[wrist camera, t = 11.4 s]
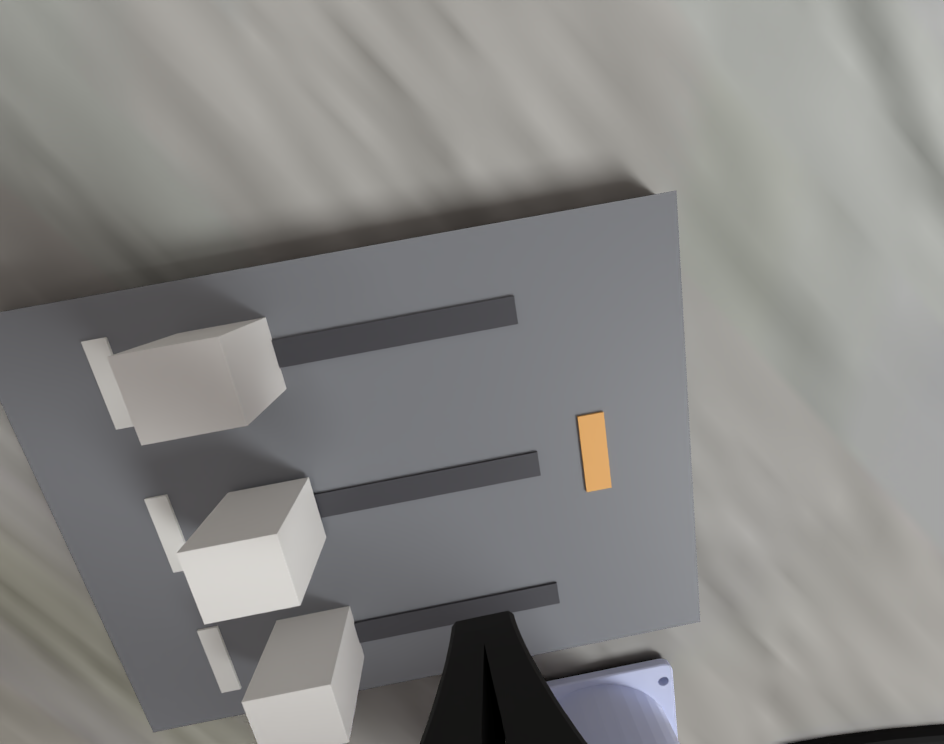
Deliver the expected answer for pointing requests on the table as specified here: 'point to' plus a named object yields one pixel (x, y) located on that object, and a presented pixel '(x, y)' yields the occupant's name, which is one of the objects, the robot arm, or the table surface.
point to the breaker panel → (375, 453)
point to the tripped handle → (254, 551)
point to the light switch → (887, 736)
